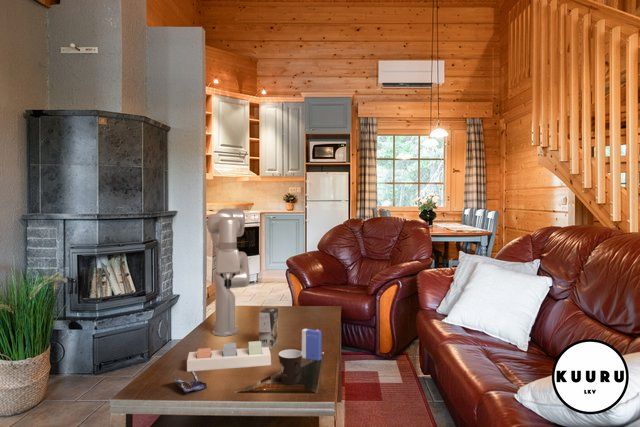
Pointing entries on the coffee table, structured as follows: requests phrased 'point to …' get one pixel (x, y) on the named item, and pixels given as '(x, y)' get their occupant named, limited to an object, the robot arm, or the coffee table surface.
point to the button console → (228, 360)
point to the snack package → (191, 384)
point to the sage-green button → (254, 348)
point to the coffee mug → (290, 365)
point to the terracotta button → (204, 353)
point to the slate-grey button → (229, 349)
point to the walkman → (311, 344)
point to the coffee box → (268, 327)
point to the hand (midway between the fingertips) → (227, 288)
